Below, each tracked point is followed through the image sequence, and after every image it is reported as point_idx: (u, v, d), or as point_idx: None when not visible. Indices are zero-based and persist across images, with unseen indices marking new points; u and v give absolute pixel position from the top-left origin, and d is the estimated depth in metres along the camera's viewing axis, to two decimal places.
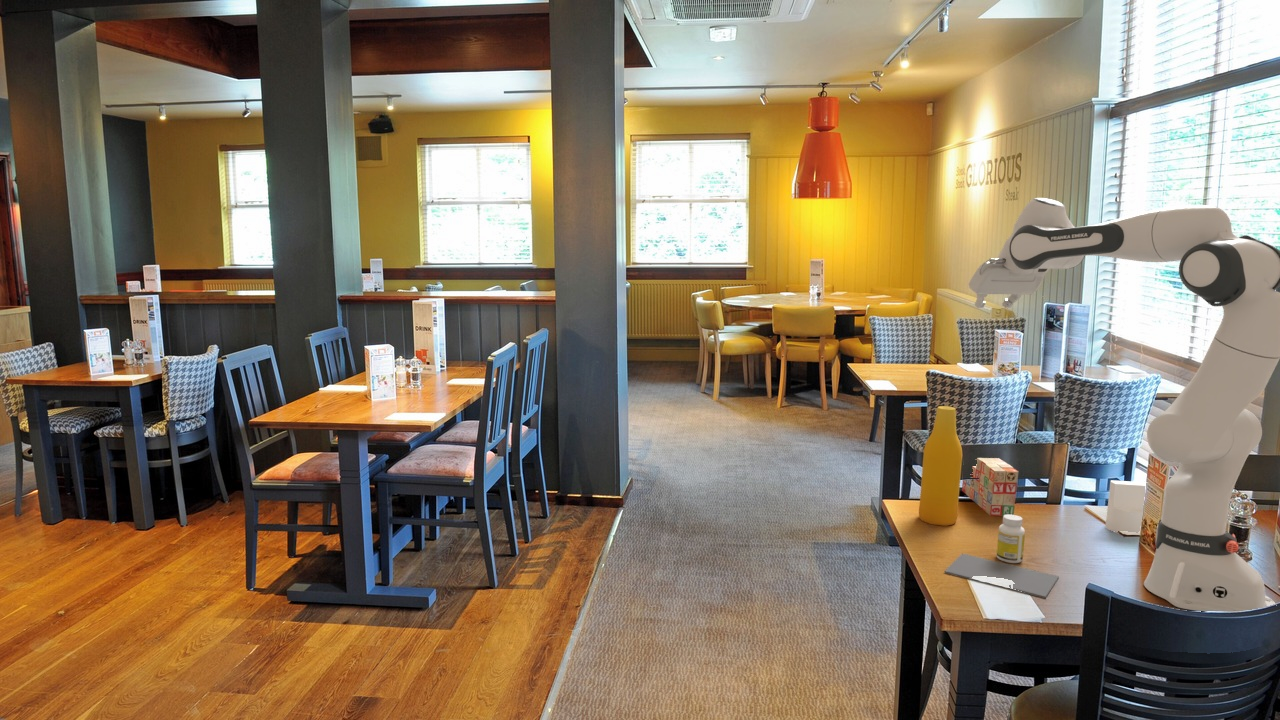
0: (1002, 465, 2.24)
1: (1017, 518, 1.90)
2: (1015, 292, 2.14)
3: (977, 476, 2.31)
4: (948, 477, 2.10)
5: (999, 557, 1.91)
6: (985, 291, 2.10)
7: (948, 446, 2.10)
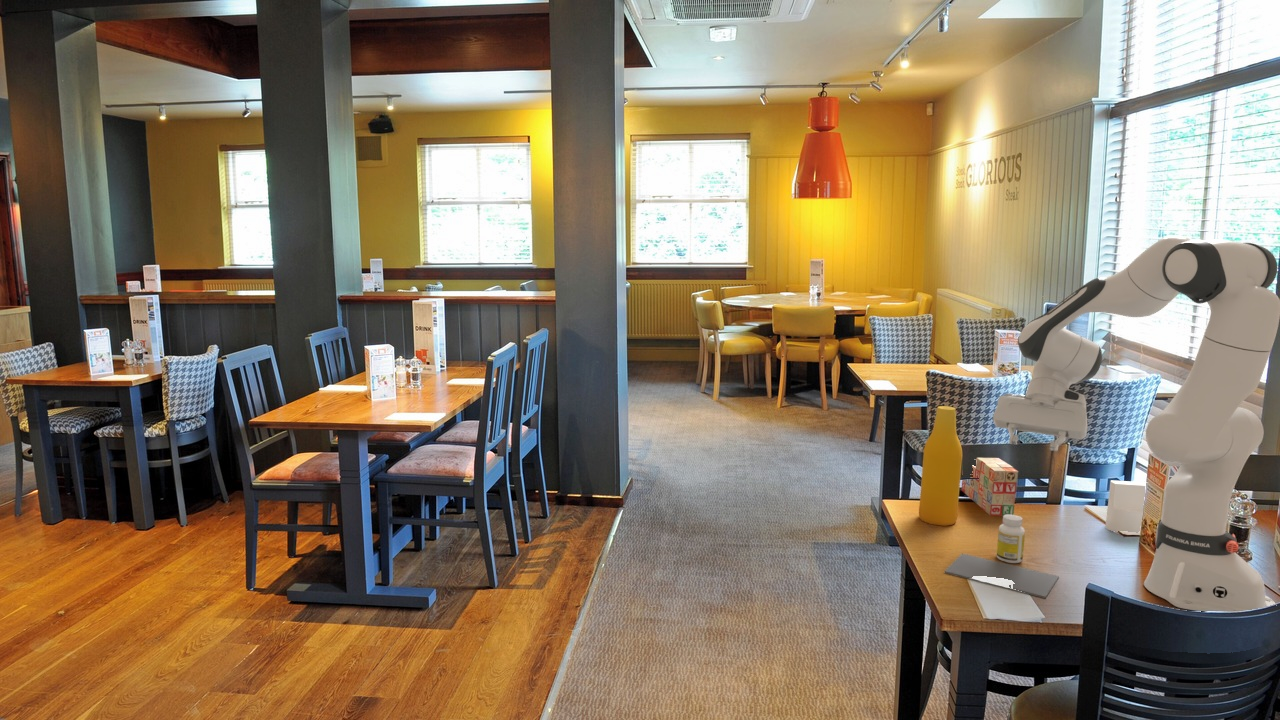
0: (1002, 465, 2.24)
1: (1016, 518, 1.90)
2: (1050, 424, 1.98)
3: (977, 476, 2.31)
4: (948, 477, 2.10)
5: (999, 557, 1.91)
6: (1004, 417, 2.04)
7: (948, 446, 2.10)
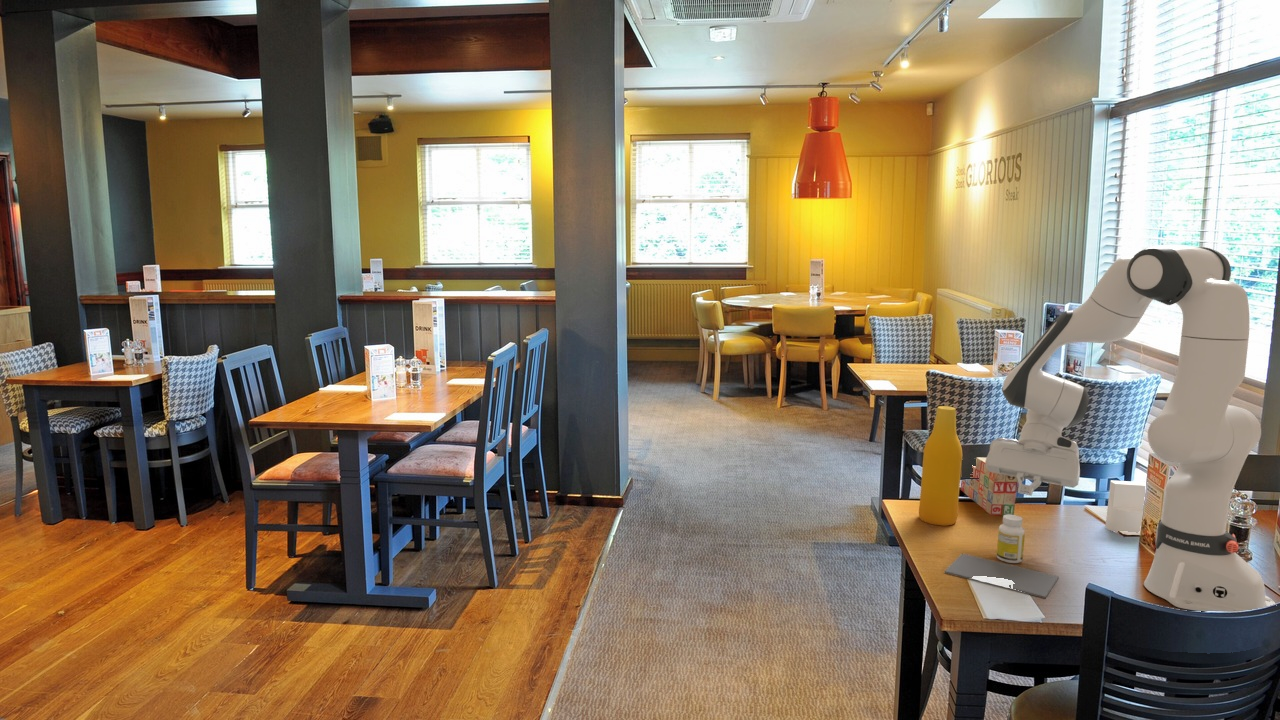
0: None
1: (1017, 518, 1.90)
2: (1043, 472, 1.98)
3: (977, 475, 2.31)
4: (948, 477, 2.10)
5: (999, 557, 1.91)
6: (997, 462, 2.04)
7: (948, 446, 2.10)
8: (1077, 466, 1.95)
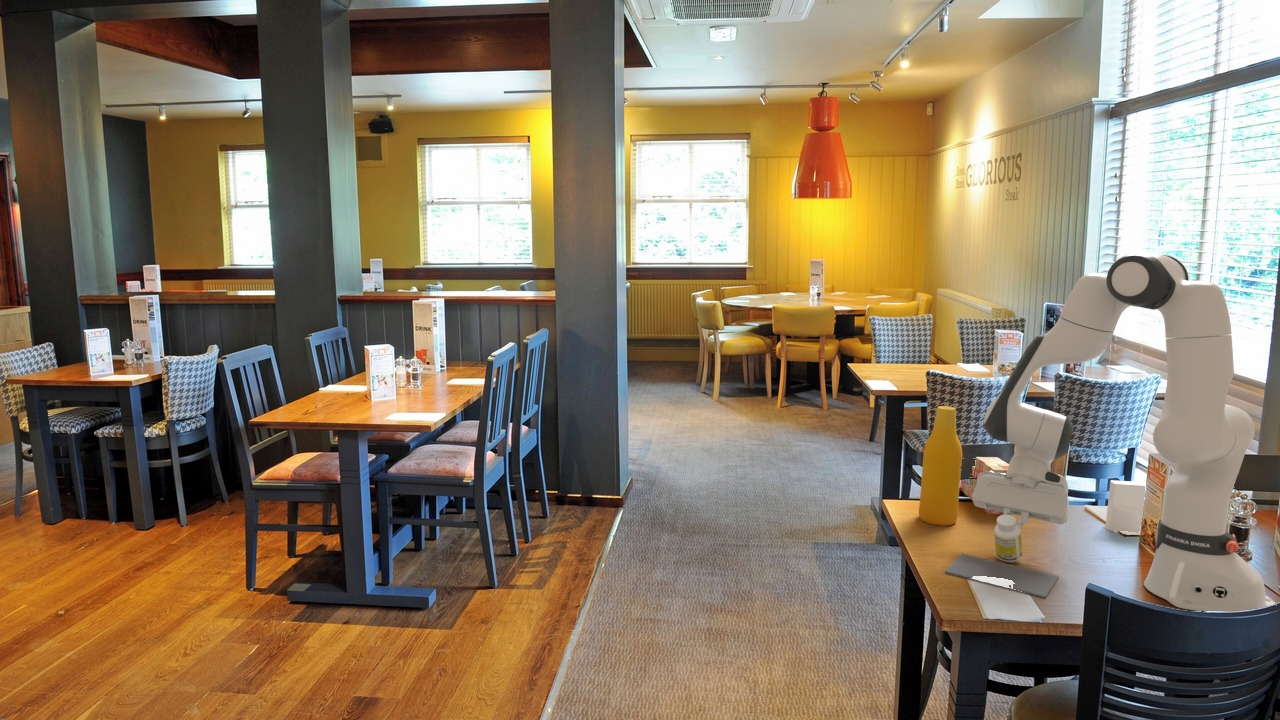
0: (1001, 464, 2.25)
1: (1010, 521, 1.87)
2: (1030, 508, 1.91)
3: (976, 475, 2.32)
4: (948, 477, 2.10)
5: (999, 557, 1.91)
6: (983, 497, 1.97)
7: (948, 446, 2.10)
8: (1066, 502, 1.88)
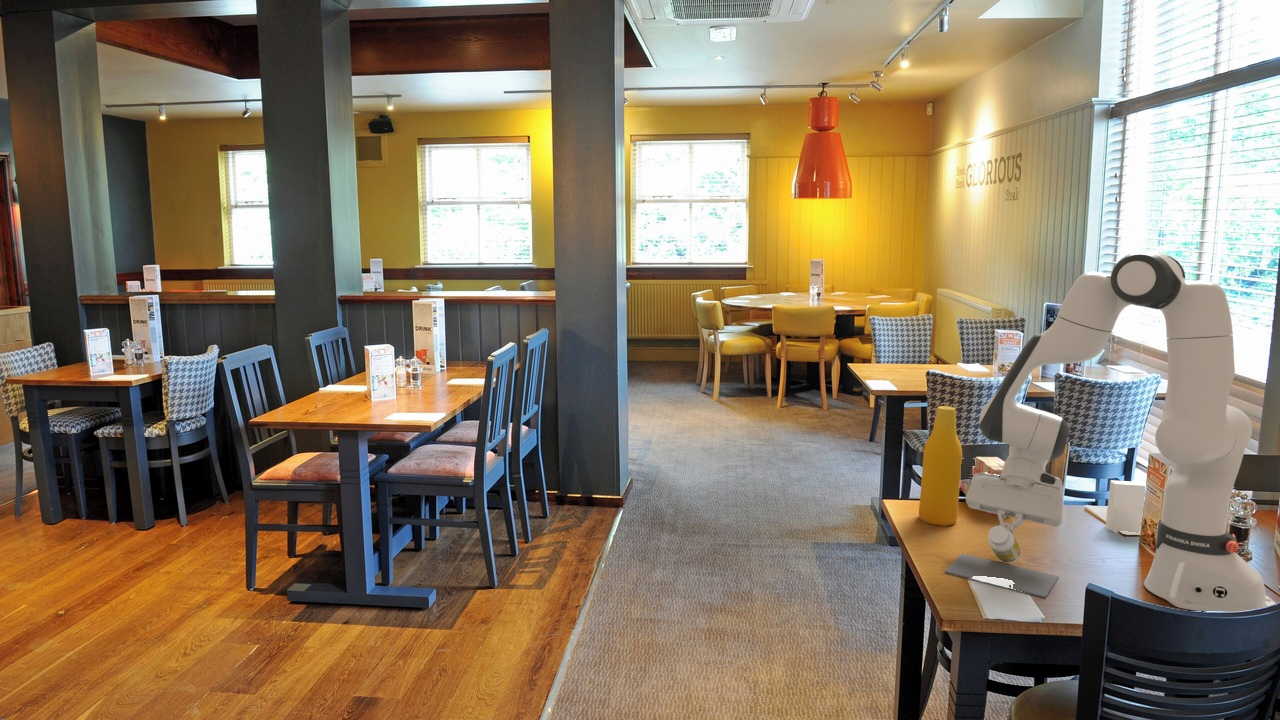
0: (1001, 464, 2.25)
1: (1002, 535, 1.83)
2: (1025, 509, 1.88)
3: None
4: (948, 477, 2.10)
5: (997, 557, 1.90)
6: (977, 498, 1.94)
7: (948, 446, 2.10)
8: (1061, 504, 1.86)
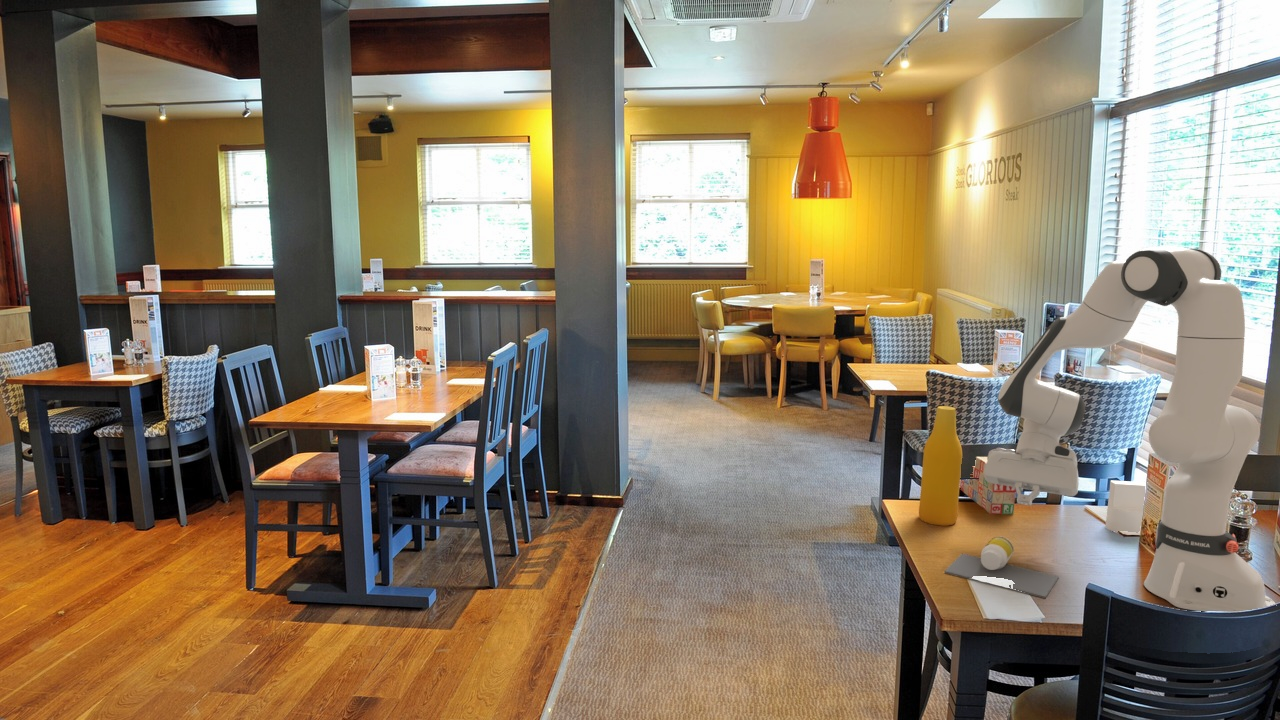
0: None
1: (995, 561, 1.81)
2: (1041, 481, 1.96)
3: (976, 475, 2.32)
4: (948, 477, 2.10)
5: None
6: (995, 473, 2.02)
7: (948, 446, 2.10)
8: (1076, 475, 1.93)
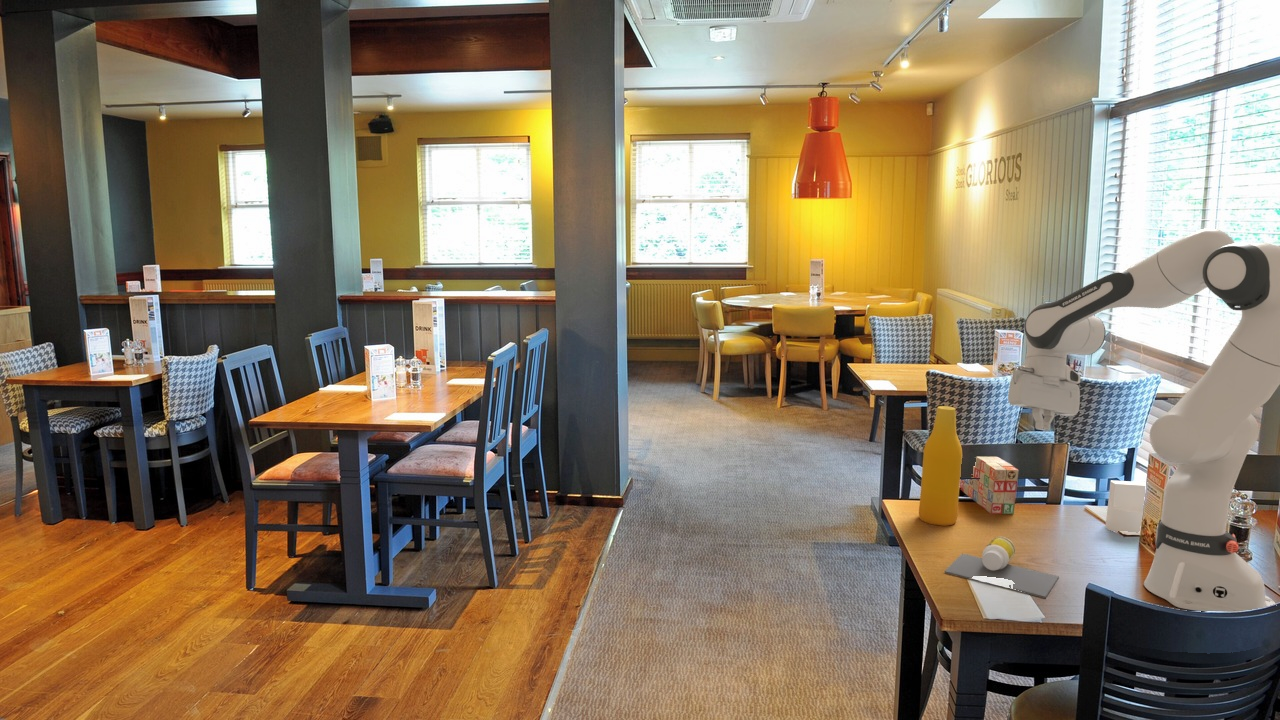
0: (1002, 463, 2.26)
1: (996, 562, 1.81)
2: (1058, 408, 2.01)
3: (976, 475, 2.32)
4: (948, 477, 2.10)
5: None
6: (1028, 401, 1.96)
7: (948, 446, 2.10)
8: (1079, 400, 2.04)
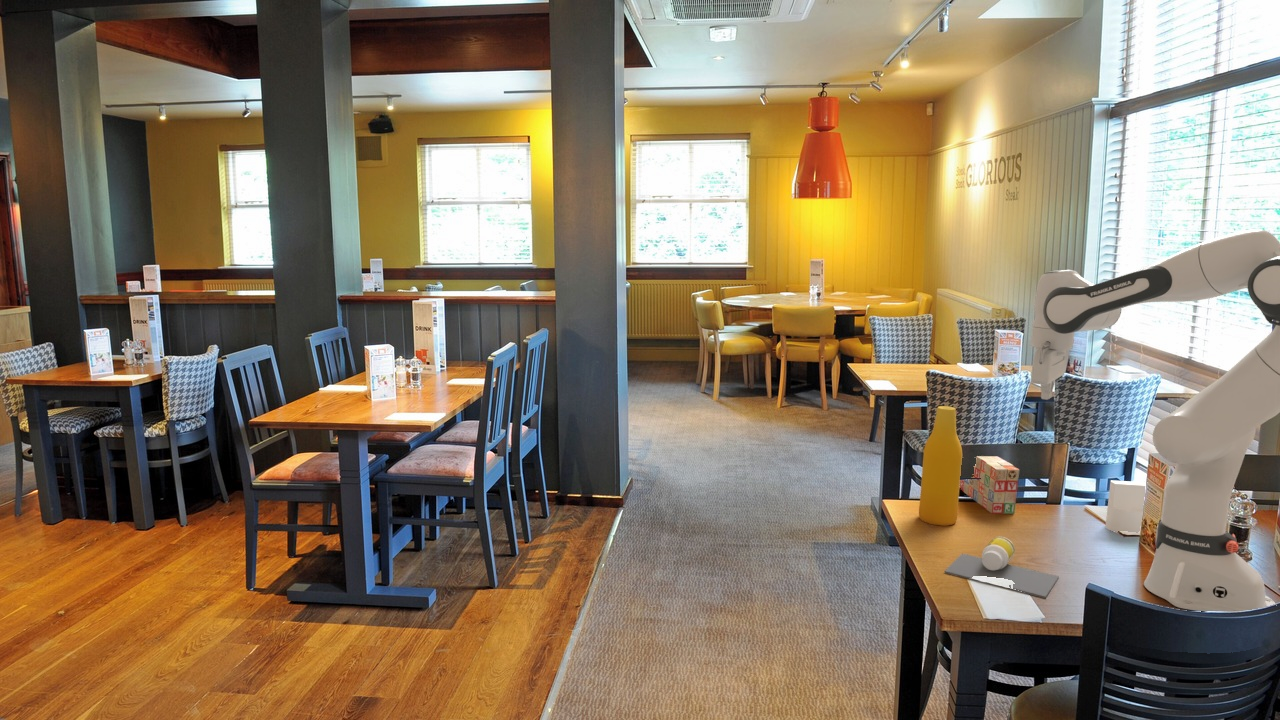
0: (1002, 463, 2.26)
1: (996, 561, 1.81)
2: (1059, 375, 2.01)
3: (977, 474, 2.32)
4: (948, 477, 2.10)
5: None
6: (1050, 379, 1.93)
7: (948, 446, 2.10)
8: None
